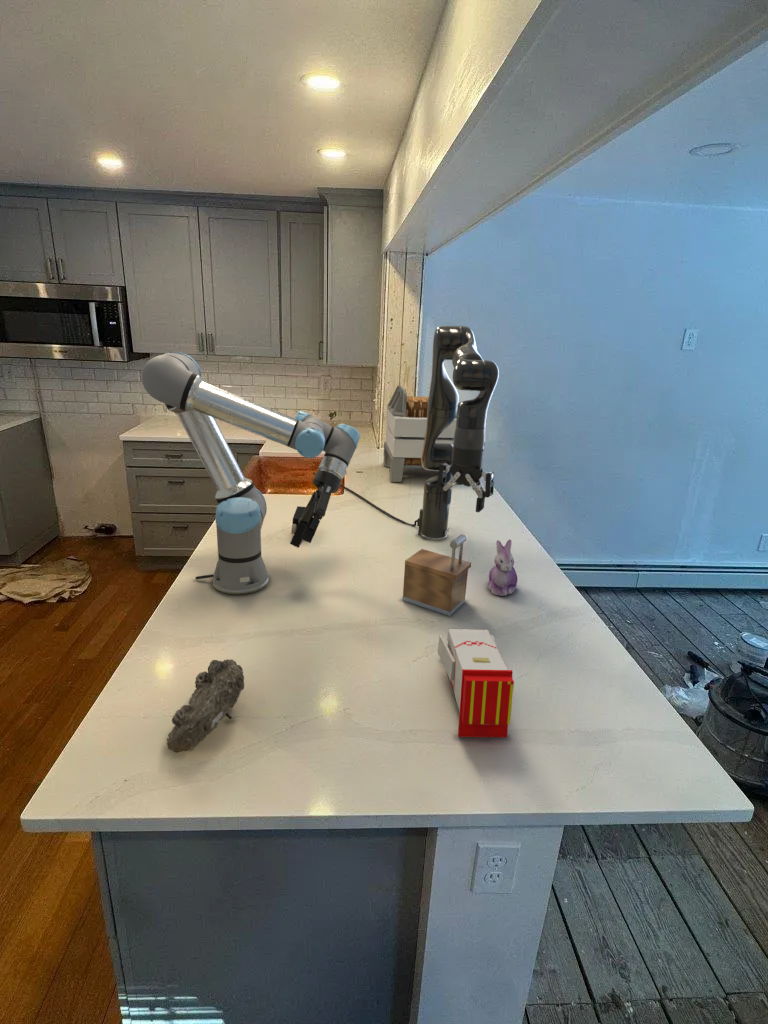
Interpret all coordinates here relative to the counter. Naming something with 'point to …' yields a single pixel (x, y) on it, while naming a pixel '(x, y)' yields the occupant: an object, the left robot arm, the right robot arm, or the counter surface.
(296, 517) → the figurine character
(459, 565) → the lid
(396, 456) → the transformer
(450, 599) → the chest
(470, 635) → the toy
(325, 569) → the counter surface
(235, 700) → the fossil
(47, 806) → the counter surface
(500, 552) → the figurine
